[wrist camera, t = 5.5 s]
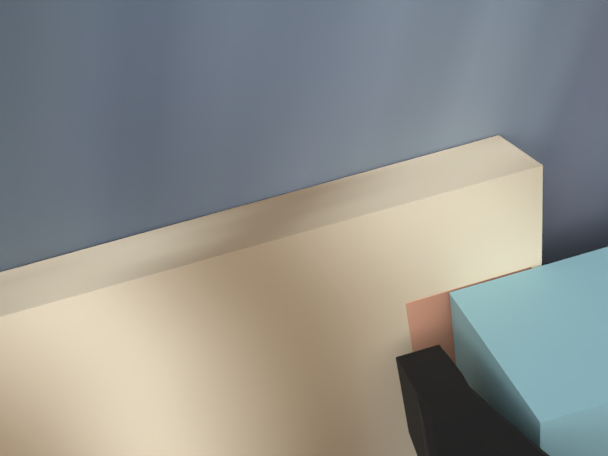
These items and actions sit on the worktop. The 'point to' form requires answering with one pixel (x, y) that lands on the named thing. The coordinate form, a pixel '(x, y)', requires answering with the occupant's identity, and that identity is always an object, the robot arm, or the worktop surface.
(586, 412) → the stub
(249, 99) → the worktop surface
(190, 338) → the board
